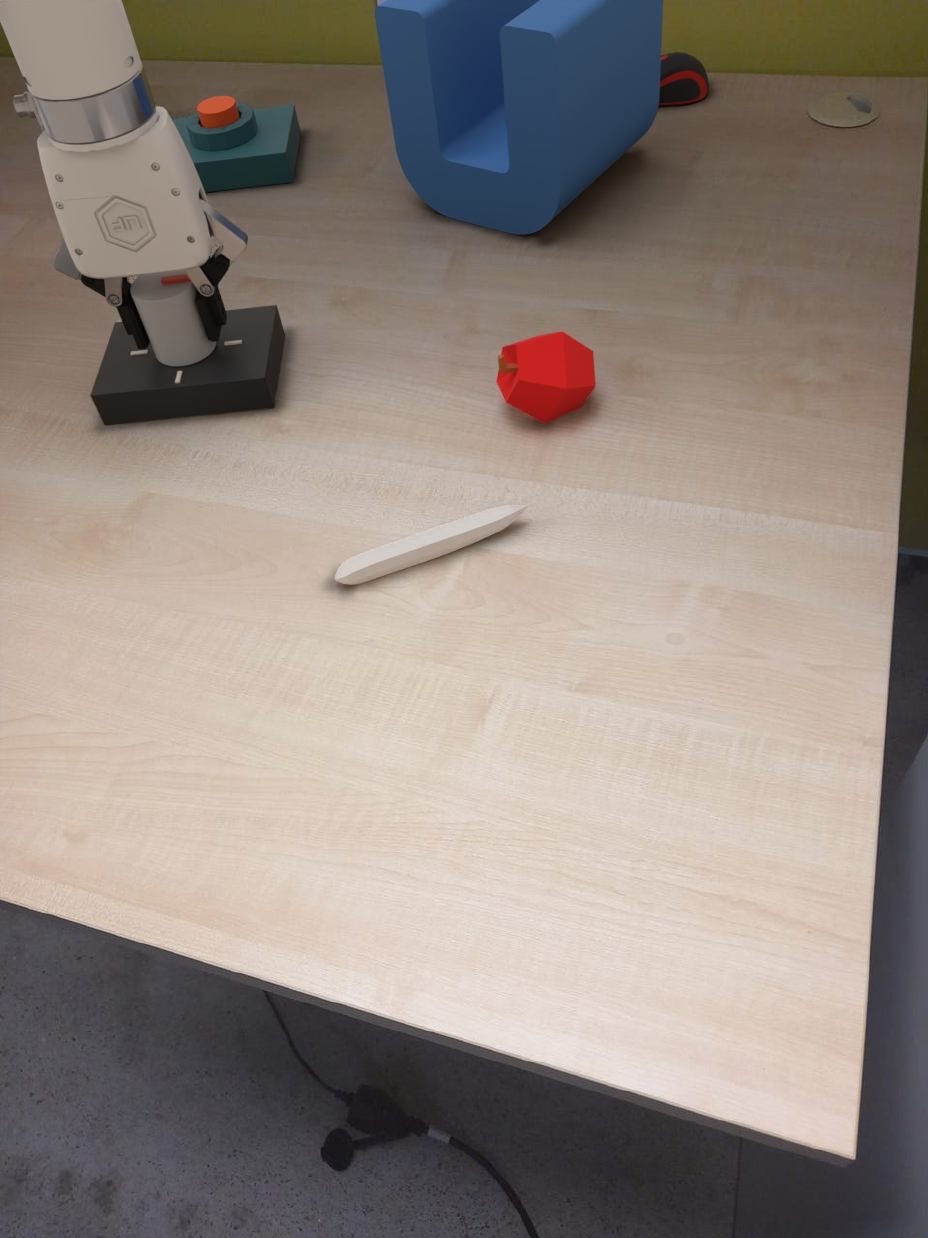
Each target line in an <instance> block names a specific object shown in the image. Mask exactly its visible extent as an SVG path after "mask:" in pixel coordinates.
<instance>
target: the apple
mask: <svg viewBox="0 0 928 1238" xmlns="http://www.w3.org/2000/svg"><path fill="white" fill-rule="evenodd" d="M497 361H498V362H497V363H498V365H497V366H498V370H497V376H496V385H497V386H498V388H499V391H500V393H501V395H502V397H503V399H504V402H505V403H506V404H508V405H509V406H511V407H513V408H515V409H517V410H518V411H520V412H522V413H524V414H525V415H527V416H528V417H529V416H530V417H531V418H533V419H535V420H537V421H538V422H540V423H542V424H544V425H545V424H548V423H550V422H553V421H554V420H557V419H559V418H561V417H563V416H565V415H568V414H570V413H573V412H574V411H577V410H579V409H581V408H583V406H584V404H585V402H586V401H587V399H588V398H589V397H590V395H591V393H592V392H593V391H594V390H595V387H596V386H597V383H596V371H595V370H596V369H595V358H594V351H593V350H592V349H590V348H589V347H588V346H586V345H584V344H583V343H582V342H580V341H579V340H577V339H576V338H573V337H572V336H571V335H569V334H567V333H566V332H564V331H557V332H556V331H555V332H551V333H545V334H540V335H536V336H533V337H529V338H526V339H523V340H520V341H517V342H513V343H510V344H507V345H504V346H502V347H501V352H500V354H499V355H497Z"/></svg>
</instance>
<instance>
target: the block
mask: <svg viewBox="0 0 928 1238" xmlns="http://www.w3.org/2000/svg"><path fill="white" fill-rule="evenodd" d="M663 16H664V0H385V1H383V2H382V3H380V4H379V5H377V6H376V7H375V8H374V19H375V26H376V33H377V38H378V39H377V40H378V46H379V51H380V57H381V64H382V70H383V76H384V81H385V88H386V95H387V102H388V109H389V114H390V120H391V127H392V134H393V139H394V146H395V152H396V156H397V160H398V163H399V165H400V167H401V171H402V172H403V174H404V176H405V179H406V180H407V181H408V182H407V183H409V186H411V188H412V190H414V192H415V193H416V195H418V197H419V198H420V199H421V200H422V201H423V202H424V203H425V204H426V205H428V207H430V208H431V209H433V210H434V211H436V212H437V213H439V214H441V215H443V216H445V217H447V218H450V219H453V220H458V221H461V222H464V223H468V224H472V225H477V226H479V227H484V228H488V229H490V230H491V229H492V230H495V231H498V232H503V233H507V234H511V235H518V236H520V235H530V234H533V233H536V232H538V231H540V230H541V229H543V228H545V227H546V226H547V225H548V224H549V223H550V222H551V221H552V220H554V219H555V218H556V217H557V216H558V215H559V214H560V213H561V212H562V211H563V210H565V208H567V206H568V205H570V204H571V203H572V202H573V201H574V200H575V199H577V197H579V195H580V194H582V193H583V192H584V191H585V190H586V189H587V188H588V187H589V186H591V185H592V184H593V183H594V182H595V181H596V180H597V179H598V178H599V177H600V176H602V175H603V173H605V172H606V171H607V170H608V169H609V168H610V167H612V165H613V164H615V162H617V161H618V160H619V159H620V158H621V157H622V156H624V154H625V153H627V152H628V151H629V150H630V149H631V148H633V146H634V145H636V143H637V142H639V141H640V140H641V139H642V138H643V137H644V136H645V135H646V134H647V133H648V132H649V131H650V129H651V126H652V125H653V123H654V122H655V119H656V117H657V115H658V110H659V107H658V106H659V96H660V71H661V56H662V41H663Z"/></svg>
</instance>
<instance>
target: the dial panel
mask: <svg viewBox="0 0 928 1238" xmlns="http://www.w3.org/2000/svg"><path fill="white" fill-rule="evenodd" d="M225 310H226V314H227V322H226V325H222V328H221V332H220V337H219V341H217V342H216V346H215V348H214V350H213V351H212V353H211V354H210V355H208V356H207V357H206V358H204V359H203V360H201V361H199V362H196V363H194V364H190V365H186V366H168V365H165V364H163V363H161V362H160V361H159V360H158V359H157V358H156V355H155V353H154V350H153V348H152V345H151V343H150V342H149V346H148V347H147V348H146V349H141V350H139V349H138V347H137V345H136V342H135V340H134V338H133V335H128V334H127V332H126V330H125V327H124V325H123V322H122V321H115V322H114V324H113V327H112V330H111V333H110V335H109V339H108V342H107V345H106V348H105V350H104V354H103V356H102V359H101V362H100V366H99V368H98V371H97V374H96V377H95V380H94V383H93V386H92V388H91V392H90V398H91V400H92V403H93V405H94V406H95V408H96V412H97V413H98V416H99V417H100V419H101V421H102V423H103V425H104V426H109V425H120V424H129V423H139V422H149V421H158V420H159V421H160V420H169V419H179V418H189V417H198V416H207V415H209V416H210V415H219V414H227V413H238V412H239V413H240V412H248V411H258V410H269V409H274V408H275V406H276V405H275V404H276V399H277V398H276V396H277V390H278V384H279V377H280V371H281V365H282V357H283V351H284V344H285V338H286V333H285V330H284V326H283V323H282V318H281V315H280V312H279V309H278V305H277V304H272V305H264V306H255V307H254V306H253V307H245V308H235V309H225Z"/></svg>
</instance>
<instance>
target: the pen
mask: <svg viewBox="0 0 928 1238" xmlns="http://www.w3.org/2000/svg"><path fill="white" fill-rule="evenodd" d="M528 507H529V506H528V505H525V504H504V505H498V506H493V507H491V508H488V509H485V510H481V511H478V512H475V513H473V514H469V515H467V516H463V517H461V518H457V519H455V520H452V521H449V522H446V523H443V524H440V525H437V526H434V527H431V528H428V529H424V530H422V531H420V532H417V533H414V534H411V535H408V536H405V537H402V538H399V539H395V540H394V541H389V542H387V543H385V544H382V545H378V546H376V547H374V548H373V547H372V548H370V549H368V550H365V551H363V552H361V553H358V554H355V555H353V556H351V557H349V558H347V559H346V560H344V561H343V562H342V563H341V564H340V565H339V567H338V568H337V570H336V572H335V574H334V580H335V581H336V582H337V583H340V584H343V585H350V586H351V585H360V584H364V583H366V582H370V581H373V580H375V579H379V578H381V577H384V576H386V575H387V576H388V575H390V574H393V573H396V572H399V571H401V570H405V569H407V568H410V567H413V566H416V565H419V564H423V563H425V562H428V561H431V560H434V559H437V558H439V557H443V556H445V555H448V554H450V553H453V552H455V551H458V550H460V549H463V548H465V547H468V546H470V545H473V544H474V543H477V542H479V541H481V540H483V539H487V538H489V537H490V536H492V535H494V534H497V533H498V532H499V533H500V532H501V531H503V530H504V529H506V528H508V527H509V526H510V525H512V524H513V523H514V522H515V521H516V520H517V519H518V518H519V517H520V516H522V514H523V513H524V512H525V511H526V510H527V508H528Z"/></svg>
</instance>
